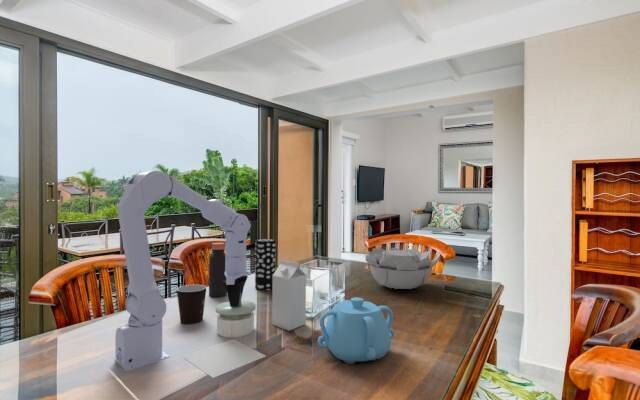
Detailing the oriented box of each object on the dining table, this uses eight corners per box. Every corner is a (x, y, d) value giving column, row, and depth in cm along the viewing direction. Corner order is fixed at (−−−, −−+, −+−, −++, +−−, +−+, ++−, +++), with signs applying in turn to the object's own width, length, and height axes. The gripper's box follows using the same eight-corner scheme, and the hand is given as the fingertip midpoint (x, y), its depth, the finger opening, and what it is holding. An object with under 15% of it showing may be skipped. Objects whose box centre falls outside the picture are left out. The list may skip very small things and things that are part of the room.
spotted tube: (252, 286, 148) (253, 239, 148) (271, 284, 152) (272, 238, 152) (258, 291, 141) (258, 241, 141) (278, 289, 144) (278, 240, 144)
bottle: (222, 298, 132) (222, 244, 132) (205, 297, 133) (205, 244, 133) (229, 293, 139) (230, 242, 138) (213, 292, 140) (214, 241, 140)
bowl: (230, 342, 93) (230, 323, 92) (210, 332, 99) (210, 314, 99) (260, 332, 100) (260, 314, 100) (240, 323, 107) (240, 306, 107)
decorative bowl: (351, 281, 159) (352, 248, 159) (409, 277, 168) (409, 246, 168) (383, 300, 130) (383, 260, 130) (451, 294, 139) (451, 256, 139)
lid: (230, 317, 92) (230, 301, 92) (207, 309, 99) (208, 293, 99) (263, 308, 100) (263, 293, 100) (240, 301, 107) (240, 286, 107)
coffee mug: (196, 326, 103) (196, 292, 103) (170, 324, 105) (170, 290, 105) (216, 313, 115) (216, 283, 114) (192, 311, 116) (192, 281, 116)
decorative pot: (370, 378, 75) (371, 314, 75) (310, 356, 85) (311, 300, 84) (400, 351, 88) (401, 297, 88) (346, 335, 98) (346, 286, 98)
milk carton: (288, 319, 110) (289, 258, 110) (305, 324, 106) (306, 261, 105) (271, 325, 105) (272, 261, 104) (289, 331, 100) (289, 264, 100)
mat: (213, 380, 74) (213, 377, 74) (182, 358, 83) (182, 356, 83) (266, 357, 84) (266, 355, 84) (233, 341, 93) (233, 339, 93)
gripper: (245, 260, 92) (245, 312, 92) (254, 251, 107) (253, 296, 107) (218, 260, 92) (218, 312, 92) (230, 251, 106) (230, 296, 107)
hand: (235, 303), depth 100 cm, fingers closed on lid, 3 cm apart
